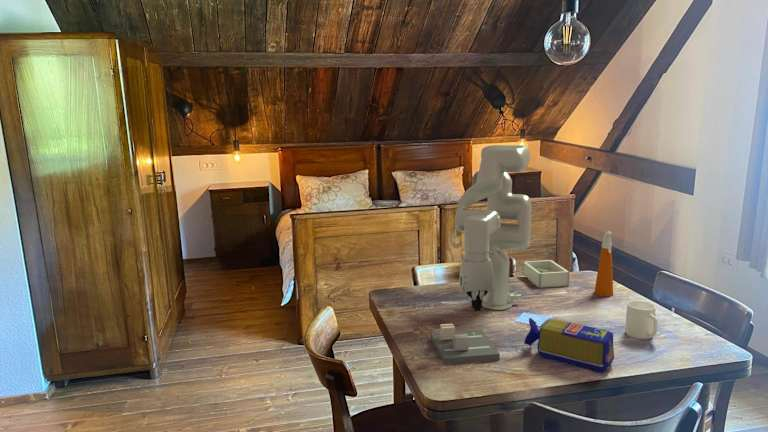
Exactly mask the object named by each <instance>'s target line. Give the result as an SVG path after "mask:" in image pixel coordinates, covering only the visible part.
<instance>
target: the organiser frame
mask: <svg viewBox="0 0 768 432" xmlns="http://www.w3.org/2000/svg"><path fill="white" fill-rule="evenodd" d="M537 267H538V268H541V269H545V270H549V271H553V272H547V273H540V272H539V271H537V270H536V269H535V268H537ZM522 276H524V277H525V278H526V277H527V278H528V279H527V278H526V279H527V280H529V282H531V283H532V284H533V285H535V286H536V287H538V288H539V289H541V288H555V287H556V288H557V287H568V286H570V271H568V270H567V269H565V268H564V267H563V266H561V265H559V264H558V263H556V262H555V261H554V260H552V259H543V260H527V261H526V260H525V261H522Z"/></svg>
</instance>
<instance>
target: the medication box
mask: <svg viewBox="0 0 768 432" xmlns="http://www.w3.org/2000/svg"><path fill="white" fill-rule="evenodd" d="M535 269H536V270H537V271H539V272H540V273H547V272H553V271H549V270H545V269H541V268H538V267H537V268H535Z"/></svg>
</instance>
